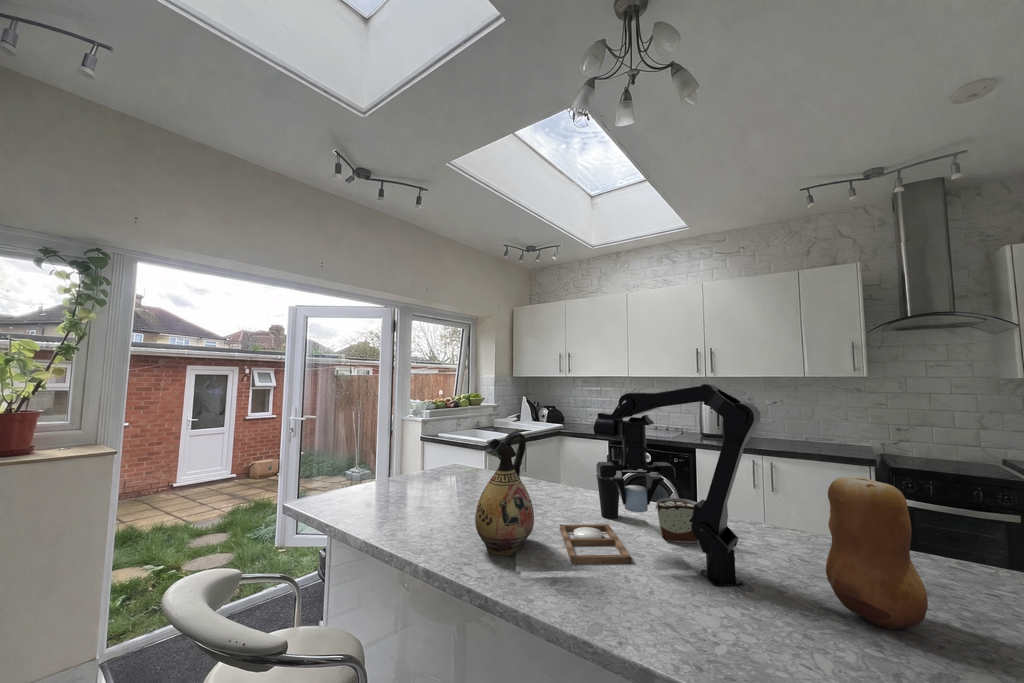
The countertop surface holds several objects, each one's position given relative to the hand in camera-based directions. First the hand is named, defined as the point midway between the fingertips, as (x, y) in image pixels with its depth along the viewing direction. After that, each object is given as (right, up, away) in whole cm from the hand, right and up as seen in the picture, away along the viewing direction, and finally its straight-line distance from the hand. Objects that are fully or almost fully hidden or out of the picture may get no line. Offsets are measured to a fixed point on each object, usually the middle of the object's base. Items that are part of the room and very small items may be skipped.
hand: (635, 504), depth 104 cm
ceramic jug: (-33, -13, +4) cm, 35 cm away
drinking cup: (-1, -15, +25) cm, 29 cm away
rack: (-11, -13, +3) cm, 17 cm away
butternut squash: (+35, -9, -30) cm, 47 cm away
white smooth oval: (-11, -12, +8) cm, 18 cm away
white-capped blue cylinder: (0, -1, 0) cm, 1 cm away
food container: (+14, -13, +10) cm, 22 cm away
